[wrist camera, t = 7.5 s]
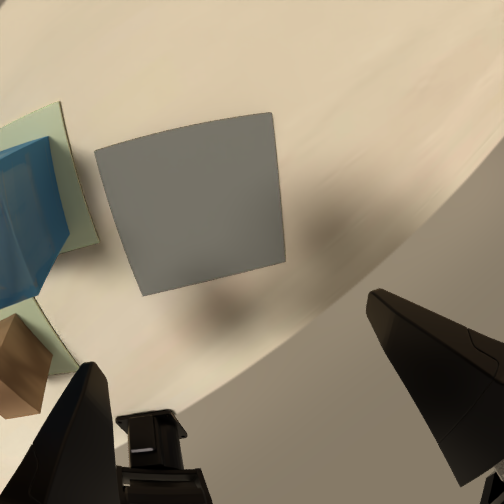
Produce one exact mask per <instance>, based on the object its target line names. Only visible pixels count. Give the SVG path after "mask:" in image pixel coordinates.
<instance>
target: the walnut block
mask: <svg viewBox="0 0 504 504" xmlns="http://www.w3.org/2000/svg"><path fill="white" fill-rule="evenodd" d="M52 357H53V354H52V353H51V352H50V351H49V350H48V349H47V348H46V347H45V346H44V345H43V344H42V343H41V342H40V341H39V339H38V338H37V337H36V336H35V335H34V334H33V333H32V332H31V331H30V329H29V328H28V327H27V326H26V325H25V324H24V322H23V321H22V320H21V319H20V318H19V316H18V315H17V314H16V313H15V314H13V315H11V316H9V317H7V318H5V319H3V320H1V321H0V415H1V416H2V417H3V418H5V419H10V418H17V417H23V416H29V415H34V414H40V413H41V407H42V402H43V396H44V391H45V387H46V382H47V378H48V373H49V369H50V365H51V361H52Z"/></svg>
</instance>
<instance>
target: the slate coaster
mask: <svg viewBox="0 0 504 504" xmlns="http://www.w3.org/2000/svg"><path fill="white" fill-rule="evenodd" d="M94 153H95V157H96V161H97V165H98V168H99V172H100V175H101V179H102V182H103V186H104V189H105V193H106V196H107V199H108V202H109V206H110V209H111V212H112V215H113V218H114V221H115V224H116V227H117V230H118V233H119V236H120V238H121V241H122V244H123V247H124V250H125V252H126V255H127V258H128V260H129V263H130V266H131V268H132V271H133V273H134V276H135V279H136V281H137V284H138V286H139V288H140V291H141V293H142V296H147V295H151V294H156V293H160V292H164V291H168V290H173V289H177V288H181V287H185V286H189V285H194V284H198V283H202V282H206V281H210V280H214V279H218V278H223V277H227V276H231V275H235V274H239V273H243V272H247V271H251V270H255V269H259V268H263V267H267V266H271V265H275V264H279V263H283V262H285V250H284V237H283V225H282V213H281V201H280V190H279V179H278V168H277V158H276V148H275V138H274V129H273V120H272V113H270V112H268V113H260V114H253V115H246V116H239V117H233V118H227V119H221V120H215V121H210V122H204V123H199V124H194V125H190V126H185V127H180V128H176V129H171V130H167V131H163V132H159V133H155V134H151V135H147V136H143V137H139V138H135V139H132V140H128V141H125V142H121V143H118V144H114V145H111V146H108V147H104V148H101V149H98V150H95V151H94Z"/></svg>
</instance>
